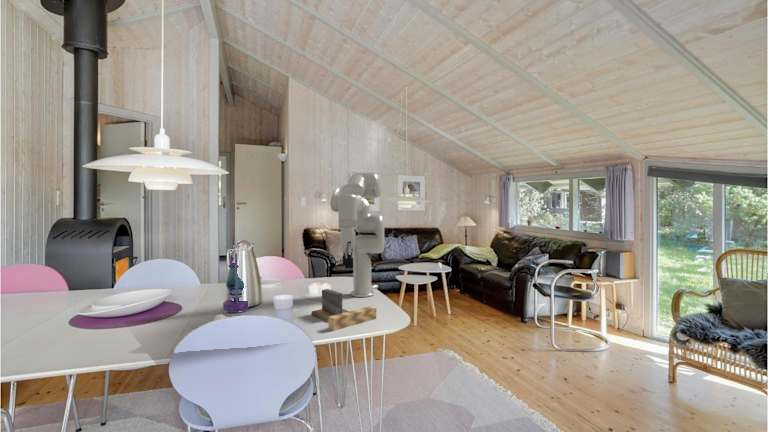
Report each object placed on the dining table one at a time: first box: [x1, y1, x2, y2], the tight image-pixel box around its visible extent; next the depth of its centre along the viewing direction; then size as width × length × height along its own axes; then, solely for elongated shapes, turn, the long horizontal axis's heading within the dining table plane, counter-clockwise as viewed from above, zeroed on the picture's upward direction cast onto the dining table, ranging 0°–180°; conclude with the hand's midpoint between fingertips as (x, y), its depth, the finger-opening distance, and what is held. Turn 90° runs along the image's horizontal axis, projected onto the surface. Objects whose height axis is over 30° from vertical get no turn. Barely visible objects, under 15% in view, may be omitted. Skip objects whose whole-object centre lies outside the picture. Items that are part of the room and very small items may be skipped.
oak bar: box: [327, 305, 377, 332], centre depth 155 cm, size 22×4×5 cm, turn 133°
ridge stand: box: [311, 288, 349, 322], centre depth 166 cm, size 12×14×10 cm
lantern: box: [222, 244, 249, 313], centre depth 174 cm, size 13×12×30 cm
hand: (347, 266), depth 155 cm, fingers open, 9 cm apart
